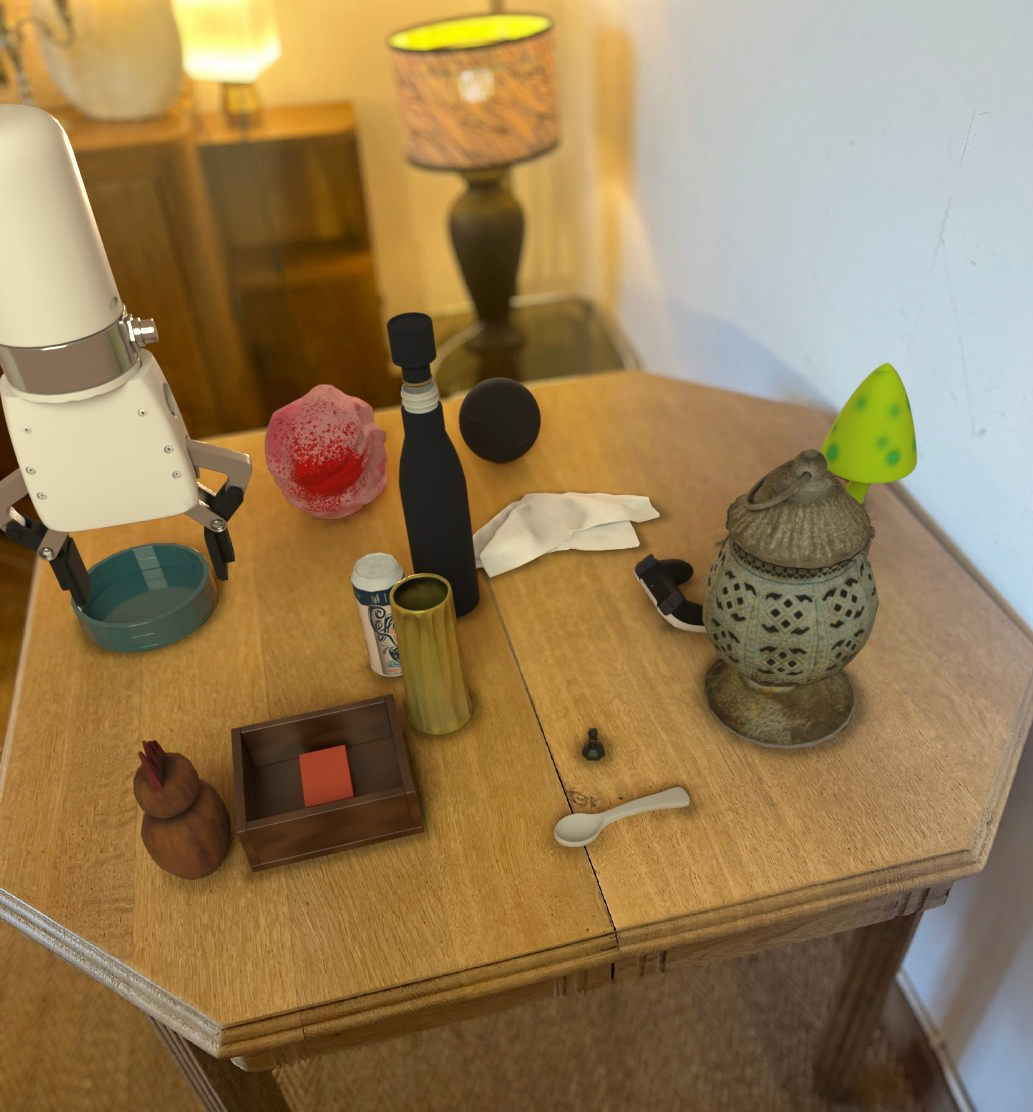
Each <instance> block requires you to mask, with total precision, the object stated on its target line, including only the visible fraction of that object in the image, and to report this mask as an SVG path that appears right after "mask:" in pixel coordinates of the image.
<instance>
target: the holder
mask: <svg viewBox="0 0 1033 1112" xmlns="http://www.w3.org/2000/svg"><path fill="white" fill-rule="evenodd" d="M230 738H231V758H232V775H233V776H232V778H233V797H234V798H233V799H234V816H235V833H236V836H237V837H238V840H239V843H240V845H241V847H242V850H243V852H244V854H245V857H246V859H247V861H248V863H249V866H250V869H251V871H252V872H253V873H258V872H261V871H265V870H269V869H274V868H278V867H282V866H286V865H290V864H296V863H299V862H303V861H308V860H313V859H317V858H320V857H325V856H329V855H332V854H337V853H341V852H345V851H350V850H354V849H358V848H359V849H360V848H363V847H366V846H367V847H368V846H371V845H374V844H379V843H384V842H388V841H392V840H396V839H400V838H405V837H409V836H413V835H417V834H422V833H424V832H425V831H424V826H423V822H422V817H421V816H422V815H421V812H420V807H419V802H418V797H417V792H416V789H415V788H416V787H415V784H414V779H413V774H412V770H411V767H410V763H409V757H408V754H407V748H406V745H405V739H404V736H403V731H402V727H401V722H400V718H399V714H398V709H397V704H396V701H395V696H394V693H389V694H385V695H380V696H376V697H371V698H366V699H362V700H357V701H352V702H349V703H343V704H338V705H333V706H329V707H325V708H320V709H316V710H311V711H307V712H302V713H297V714H293V715H287V716H283V717H279V718H274V719H270V720H264V721H261V722H257V723H256V722H255V723H250V724H246V725H241V726H238V727H233V728H230ZM341 745H345V746H346V750H347V754H348V757H349V761H350V766H351V772H352V777H353V783H354V789H355V795H356V797H355V798H350V799H346V800H342V801H337V802H333V803H329V804H324V805H320V806H316V807H311V808H307V809H306V808H305V802H304V794H303V785H302V777H301V768H300V760H299V755H301V754H305V753H310V752H314V751H319V750H323V749H328V748H332V747H337V746H341Z"/></svg>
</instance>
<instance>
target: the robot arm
mask: <svg viewBox="0 0 1033 1112" xmlns="http://www.w3.org/2000/svg"><path fill="white" fill-rule="evenodd" d="M154 343H159V334H158V329H157V326H156V323H155V320H154V319H153V318H146V319H141V318H140V317H136V318H135V317H134V316H133V315H132V313H128V310H127V307H126V304H124V303H123V302H122V298H121V296H120V293H119V290H118V287H117V284H116V280H115V277H114V274H113V271H112V269H111V265H110V261H109V259H108V255H107V252H106V250H105V247H104V242H103V241H102V236H101V234H100V231H99V227H98V224H97V222H96V219H95V216H94V212H93V209H92V206H91V203H90V200H89V197H88V194H87V190H86V187H85V184H84V181H83V177H82V175H81V172H80V168H79V165H78V163H77V160H76V156H75V153H74V150H73V147H72V145H71V143H70V140H69V137H68V135H67V133H66V131H65V129H64V127H63V126H62V125H61V124H60V122H59V121H58V120H57V119H56V118H55V117H54V116H53V115H52V114H50V113H49V112H47V111H45V110H44V109H42V108H40V107H36V106H31V105H26V104H19V103H0V368H1V369H2V371H3V374H2V375H1V376H0V398H1V404H2V405H1V406H2V408H3V409H2V410H3V414H4V417H5V422H6V426H7V430H8V433H9V436H10V440H11V444H12V447H13V451H14V454H15V457H16V460H17V463H18V466H19V467H18V468H17V469H15V470H14V471H12V472H11V473H9V474H8V475H7V476H5V477H4V478H3V479H1V480H0V530H1V531H3V532H4V535H5V537H6V538H7V539H8V540H10V541H12V542H14V543H16V544H18V545H21V546H23V547H25V548H27V549H30V550H32V551H34V552H36V554H37V556H38V558H40V559H41V560H43V561H45V562H48V563H49V565H50V568H51V570H52V572H53V574H54V576H55V578H56V580H57V583H58V585H59V587H60V589H61V591H63V592H66V591H69V593H70V595H72V597H73V600H74V602H75V604H76V606H82V605H85V604H86V603H87V602H88V596H89V588H90V577H89V574H88V572H87V570H88V569H87V567H86V565H85V563H84V561H83V558H82V555H81V553H80V551H79V549H78V547H77V544H76V542H75V540H74V538H73V536H72V537H70V533H80V532H87V531H92V530H93V531H94V530H99V529H105V528H112V527H119V526H127V525H131V524H137V523H143V522H149V521H155V520H160V519H166V518H172V517H177V516H181V515H186V516H187V517H189V518H191V519H192V520H194V521H195V522H197V523H199V524H200V525H202V526H203V538H204V539H203V540H204V542H205V545H206V548H207V552H208V555H209V558H210V561H211V564H212V567H213V571H214V574H215V577H216V580H217V581H220V582H225V581H229V566H228V565H229V564H230V563H234V562H236V554H235V548H234V545H233V541H232V538H231V535H230V531H229V528H228V522H229V521H230V520H231V518H232V517H233V516H234V514H236V512H237V511H238V509H239V508H240V507H241V505H242V504H243V503H244V500H245V493H246V491H247V488H248V485H249V482H250V479H251V475H252V472H253V461H252V460H253V459H252V457H251V456H250V455H249V454H248V453H245V452H241V451H237V450H234V449H230V448H227V447H222V446H219V445H215V444H211V443H207V442H203V441H199V440H197V439H196V440H195V439H192V438H191V437H190V435H189V431H188V428H187V426H186V424H185V420H184V418H183V416H182V413H181V411H180V408H179V406H178V403H177V401H176V397H174V394H173V392H172V390H171V387H170V384H169V383H168V381H167V379H166V376H165V375H164V373H163V370H162V369H161V366H160V365H159V363H158V361H157V360H156V358H155V356H154V355H153V353H152V352H151V351H150V350H148V349H146V348H142V347H147V346H148V344H154ZM200 468H201V469H204V470H209V471H213V472H217V473H220V474H223V475H226V477H227V478H226V481H225V482H224V483H223V485H222V486H221V487H220V488H219V490H218V491H217V493H215V492H214V491H212V490H211V489H210V488H208V487H206V486H205V485H203V484H202V483H200V482H198V480H199V479H200V478H201V472H200V471H201V470H200ZM28 494H29V498H30V500H31V502H32V504H33V507H34V510H35V512H36V513H37V516H38V517H39V519H40V520H41V521H39V520H37V519H35V518H33V517H30V516H29V515H27V514H24V513H21V512H17V511H16V508H15V507H13V505H15V503H17V502H18V501H20V500H21V499H23V498H24V497H26V496H27V495H28Z"/></svg>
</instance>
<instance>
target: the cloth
mask: <svg viewBox="0 0 1033 1112" xmlns="http://www.w3.org/2000/svg"><path fill="white" fill-rule="evenodd" d="M660 515H661V513H660V512H658V511H657V510H656V509H655V508H654V507H653V505H652V503H651V501H650V498H649V496H643V495H634V494H633V495H632V494H608V493H603V492H595V493H581V492H575V491H574V492H573V491H568V492H564V493H552V492H551V493H550V492H534V493H533V492H531V493H525V494H524V496H523V497H522V498H521V499H519V500H515V501H511V502H510V503H509V504H508V505H507V506H505V507H504V508H503V509H502V510H501V511H500V512H498V513H497V514H496V515H495V516H493V518H492V519H490V520H489V521H488V522H487V523H486V524H484V525H483V526H482V527H480V528H479V529H478V530H477V531H476V532H475V533H474V534H472V535H473V544H474V553H475V561H476V570H477V569H481V568H483V569H484V570H485V573H486V574H487V576H488V578H490V579H491V578H494V577H496V576H499V575H501V574H503V573H506V572H509V571H512V570H515V569H517V568H520V567H522V566H524V565H526V564H528V563H530V562H532V561H534V560H536V559H538V558H539V557H542V556H544V555H545V554H550V553H554V552H558V551H568V550H570V549H572V550H580V551H610V550H624V549H631V548H633V549H634V548H639V547H640V545H641V543H640V540H639V539H638V538H639V537H638V536H637V533H636V530H635V527H633V525H632V522H634V523H637V524H638V523H643V522H646V521H650V520H654V519H657V518H658V519H659V518H660Z"/></svg>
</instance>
